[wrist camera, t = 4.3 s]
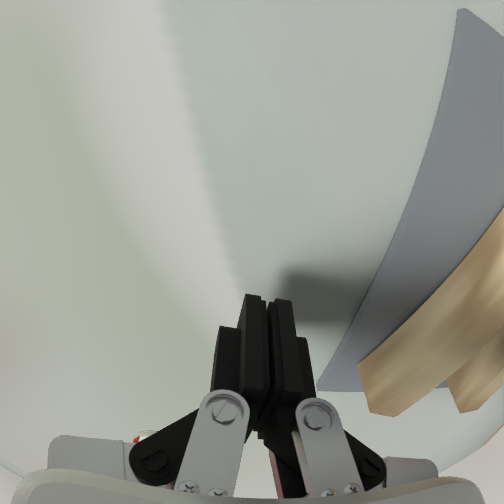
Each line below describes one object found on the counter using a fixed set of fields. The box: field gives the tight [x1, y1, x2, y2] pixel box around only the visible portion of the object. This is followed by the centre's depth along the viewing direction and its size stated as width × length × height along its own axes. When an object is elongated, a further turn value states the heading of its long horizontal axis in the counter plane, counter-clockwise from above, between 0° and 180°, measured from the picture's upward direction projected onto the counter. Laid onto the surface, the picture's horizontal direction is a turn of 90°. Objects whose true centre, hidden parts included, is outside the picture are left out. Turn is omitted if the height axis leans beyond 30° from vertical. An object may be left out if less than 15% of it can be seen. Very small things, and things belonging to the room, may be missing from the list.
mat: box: [316, 8, 504, 392], centre depth 12 cm, size 20×14×1 cm
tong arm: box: [357, 208, 504, 417], centre depth 10 cm, size 14×2×3 cm, turn 148°
